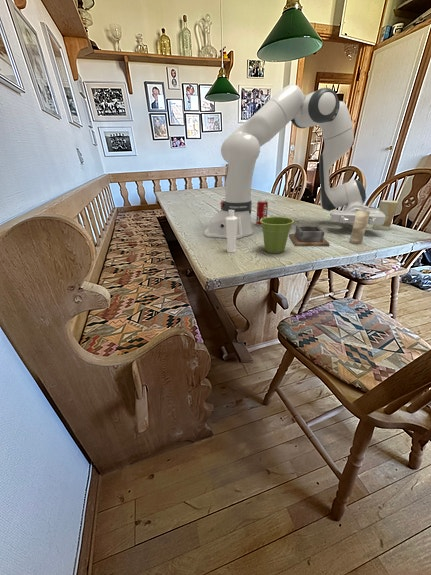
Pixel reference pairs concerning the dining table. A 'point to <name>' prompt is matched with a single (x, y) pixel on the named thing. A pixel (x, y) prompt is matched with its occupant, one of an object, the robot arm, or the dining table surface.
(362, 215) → the birch peg
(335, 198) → the robot arm
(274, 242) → the plant pot
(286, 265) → the dining table surface
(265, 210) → the soda can
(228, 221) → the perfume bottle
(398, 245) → the dining table surface
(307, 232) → the bottle holder
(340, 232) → the dining table surface
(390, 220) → the skincare box
